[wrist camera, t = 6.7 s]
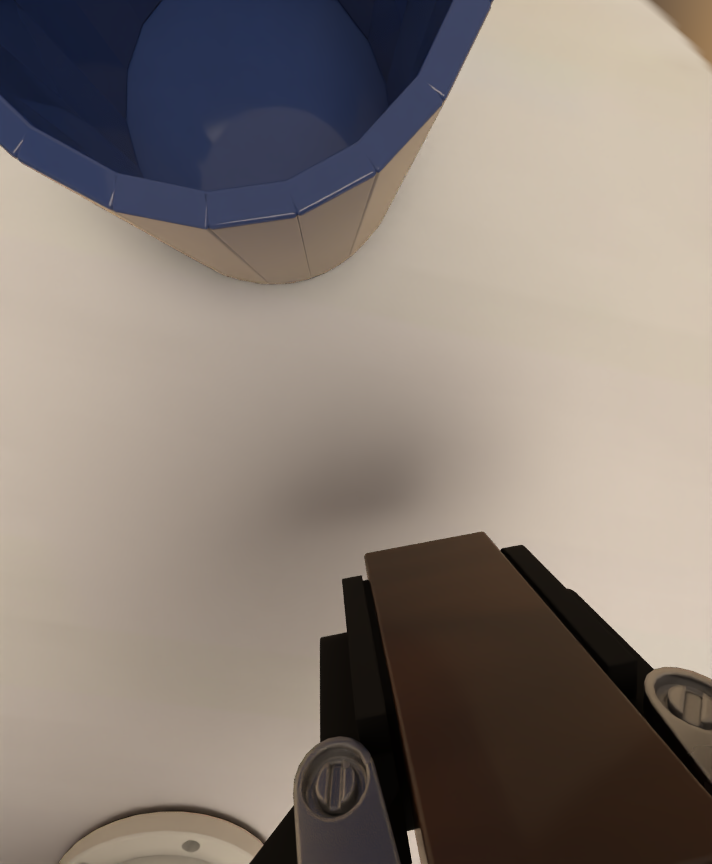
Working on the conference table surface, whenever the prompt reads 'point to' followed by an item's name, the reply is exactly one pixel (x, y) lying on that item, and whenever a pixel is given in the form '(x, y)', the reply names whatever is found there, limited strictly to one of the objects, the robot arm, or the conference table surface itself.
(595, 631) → the robot arm
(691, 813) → the walnut peg
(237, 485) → the conference table surface
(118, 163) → the mug
